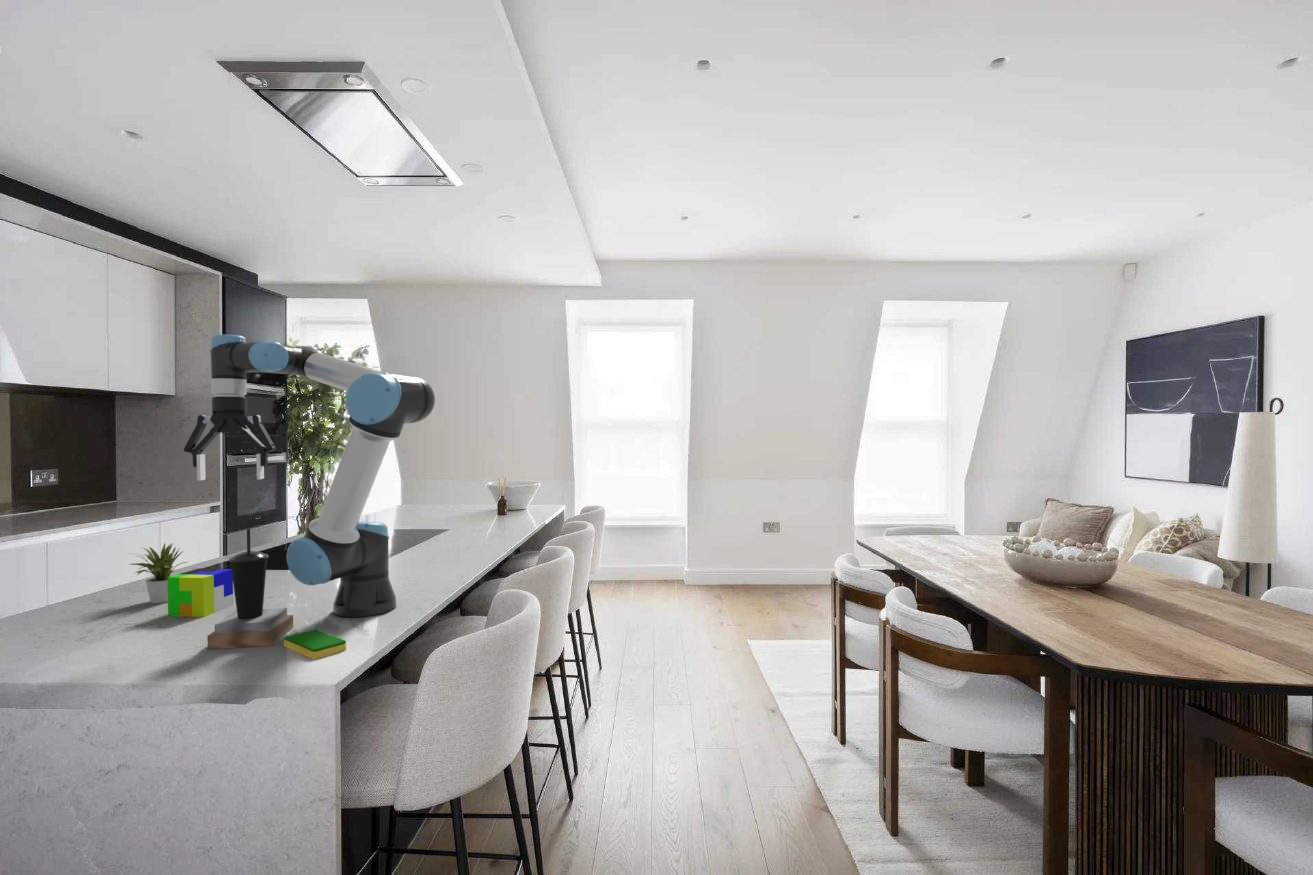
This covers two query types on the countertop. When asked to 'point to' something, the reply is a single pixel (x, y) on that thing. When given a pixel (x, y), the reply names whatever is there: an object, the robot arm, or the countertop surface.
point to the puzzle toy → (200, 592)
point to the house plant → (159, 572)
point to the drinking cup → (249, 581)
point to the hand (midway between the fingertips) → (231, 479)
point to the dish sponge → (314, 643)
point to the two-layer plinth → (251, 630)
